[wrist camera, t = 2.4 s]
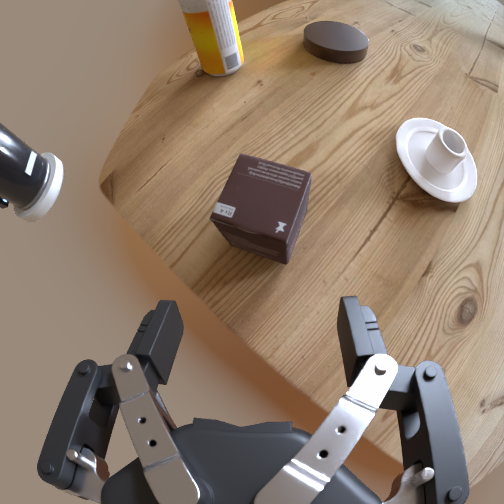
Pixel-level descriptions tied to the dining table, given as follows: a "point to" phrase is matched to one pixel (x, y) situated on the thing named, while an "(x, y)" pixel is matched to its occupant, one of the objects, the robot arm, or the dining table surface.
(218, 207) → the box
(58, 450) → the robot arm
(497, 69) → the dining table surface
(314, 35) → the walnut coaster
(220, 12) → the beer can
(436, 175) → the candle holder
